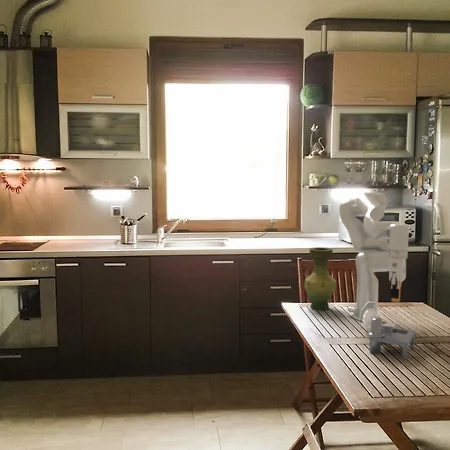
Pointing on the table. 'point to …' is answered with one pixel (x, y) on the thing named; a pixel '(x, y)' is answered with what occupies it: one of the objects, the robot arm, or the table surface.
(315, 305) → the vase
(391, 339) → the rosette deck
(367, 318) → the hand grenade
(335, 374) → the table surface
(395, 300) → the pin
